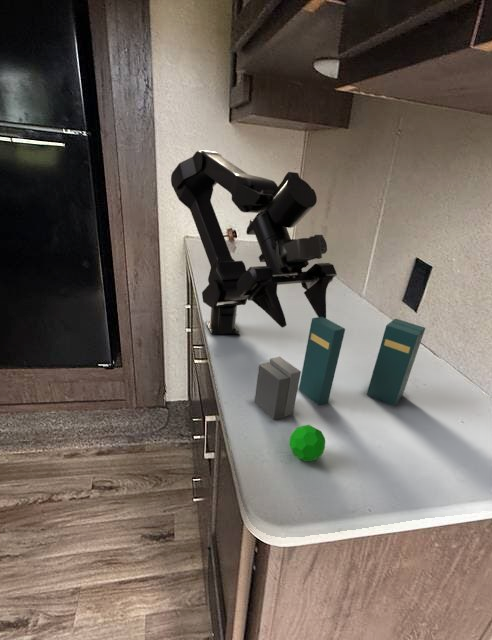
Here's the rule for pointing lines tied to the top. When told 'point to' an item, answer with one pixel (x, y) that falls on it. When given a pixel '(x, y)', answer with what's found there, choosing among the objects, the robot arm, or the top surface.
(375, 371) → the teal books
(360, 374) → the top surface
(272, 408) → the grey books
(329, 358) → the teal book
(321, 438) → the polyhedron
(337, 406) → the top surface
